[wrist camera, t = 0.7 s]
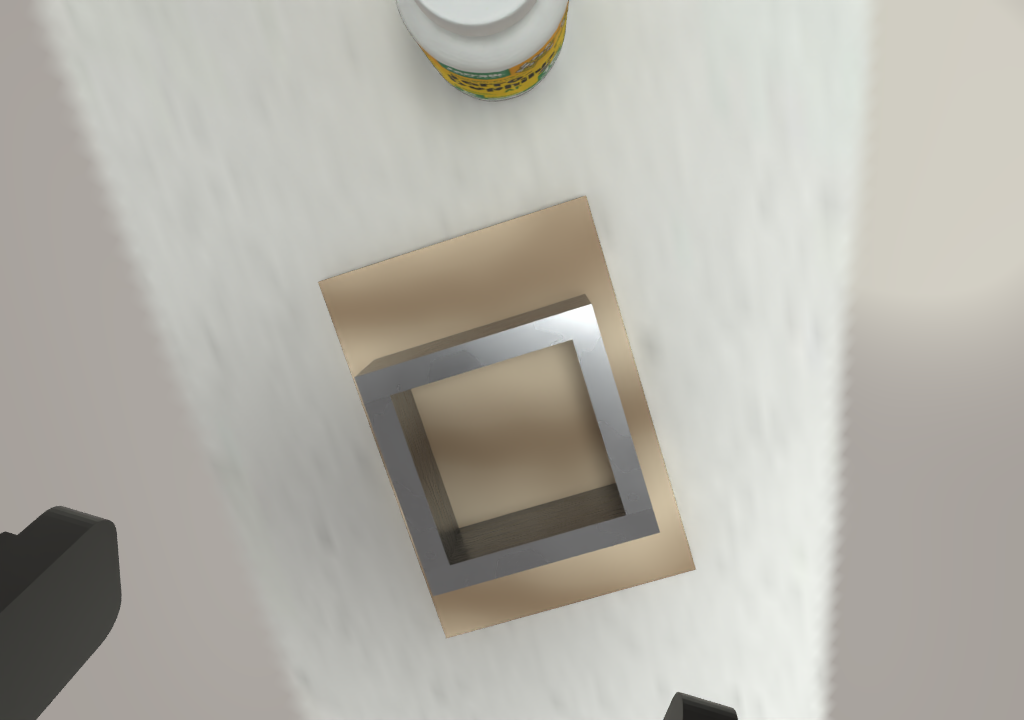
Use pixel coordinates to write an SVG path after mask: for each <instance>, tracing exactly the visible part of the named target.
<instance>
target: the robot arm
mask: <svg viewBox="0 0 1024 720" xmlns="http://www.w3.org/2000/svg"><path fill="white" fill-rule="evenodd" d="M120 605H121V584H120V570H119V557H118V544H117V532H116V527H115V525H114V523H113V522H111V521H110V520H106V519H103V518H100V517H96V516H93V515H90V514H87V513H83V512H79V511H77V510H73V509H70V508H66V507H63V506H56V507H53V508H51V509H49V510H47V511H46V512H44V513H43V514H42V515H40V516H39V517H38V518H37V519H36V520H35V521H33V522H32V523H31V524H30V525H29V526H28V527H26V528H25V529H24V530H23V531H22V532H20V534H18V535H15V534H12V533H8V532H3V533H1V534H0V720H36V719H37V718H38V717H39V716H40V714H41V713H42V712H43V711H44V710H45V709H46V707H47V706H48V705H49V704H50V703H51V702H52V701H53V699H54V698H55V697H56V696H57V695H58V694H59V692H60V691H61V690H62V689H63V688H64V686H65V685H66V684H67V683H68V682H69V681H70V680H71V679H72V677H73V676H74V675H75V674H76V673H77V672H78V670H79V669H80V668H81V667H82V666H83V664H84V663H85V662H86V661H87V660H88V659H89V658H90V656H91V655H92V654H93V653H94V652H95V651H96V649H97V648H98V647H99V646H100V645H101V643H102V642H103V641H104V640H105V638H106V637H107V635H108V634H109V632H110V631H111V629H112V627H113V625H114V623H115V621H116V618H117V615H118V613H119V610H120ZM663 720H738V718H737V714H736V711H735V710H734V709H733V708H731V707H728V706H724V705H721V704H718V703H714V702H711V701H707V700H704V699H701V698H697V697H694V696H691V695H687V694H684V693H681V692H677V693H676V694H675V695H674V697H673V699H672V701H671V703H670V706H669V708H668V710H667V712H666V715H665V717H664V719H663Z"/></svg>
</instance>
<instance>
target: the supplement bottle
mask: <svg viewBox="0 0 1024 720" xmlns="http://www.w3.org/2000/svg"><path fill="white" fill-rule="evenodd" d="M396 4H397V7H398V10H399V13H400V15H401V17H402V20H403V22H404V23H405V25H406V27H407V29H408V31H409V32H410V34H411V35H412V37H413V38H414V39H415V41H416V42H417V43H418V45H419V46H420V48H421V49H422V50H423V52H424V53H425V54H426V56H427V57H428V59H429V60H430V61H431V63H432V64H433V66H434V67H435V68H436V69H437V71H438V72H439V73H440V74H441V75H442V76H443V77H444V78H445V79H446V80H447V81H448V82H449V83H450V84H451V85H452V86H454V87H455V88H457V89H458V90H460V91H462V92H463V93H465V94H467V95H469V96H472V97H475V98H478V99H481V100H488V101H497V100H505V99H510V98H513V97H517V96H519V95H521V94H524V93H525V92H527V91H529V90H531V89H532V88H533V87H535V86H536V85H537V84H538V83H539V82H540V81H541V80H542V79H543V78H544V77H545V76H546V74H547V73H548V72H549V70H550V69H551V67H552V66H553V64H554V63H555V61H556V59H557V57H558V55H559V53H560V50H561V47H562V44H563V41H564V36H565V30H566V20H567V12H568V5H569V0H396Z"/></svg>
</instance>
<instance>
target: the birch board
mask: <svg viewBox="0 0 1024 720" xmlns="http://www.w3.org/2000/svg"><path fill="white" fill-rule="evenodd" d="M318 283H319V286H320V288H321V291H322V294H323V297H324V300H325V302H326V305H327V308H328V311H329V313H330V316H331V319H332V322H333V325H334V327H335V330H336V333H337V336H338V338H339V341H340V344H341V347H342V350H343V352H344V355H345V358H346V361H347V364H348V366H349V369H350V372H351V375H352V377H353V380H354V383H355V386H356V389H357V391H358V394H359V397H360V400H361V402H362V405H363V408H364V411H365V414H366V416H367V419H368V422H369V425H370V427H371V430H372V433H373V436H374V439H375V441H376V444H377V447H378V450H379V453H380V455H381V458H382V461H383V464H384V466H385V469H386V472H387V475H388V478H389V480H390V483H391V486H392V489H393V491H394V494H395V497H396V500H397V503H398V505H399V508H400V511H401V514H402V516H403V519H404V522H405V525H406V528H407V530H408V533H409V536H410V539H411V542H412V544H413V547H414V550H415V553H416V555H417V558H418V561H419V564H420V567H421V569H422V572H423V575H424V578H425V580H426V583H427V586H428V589H429V592H430V594H431V597H432V600H433V603H434V605H435V608H436V611H437V614H438V617H439V619H440V622H441V625H442V628H443V630H444V633H445V636H446V638H449V637H453V636H457V635H460V634H464V633H467V632H471V631H475V630H478V629H482V628H486V627H489V626H493V625H496V624H500V623H504V622H507V621H511V620H514V619H518V618H522V617H525V616H529V615H533V614H536V613H540V612H543V611H547V610H551V609H554V608H558V607H562V606H565V605H569V604H572V603H576V602H580V601H583V600H587V599H590V598H594V597H598V596H601V595H605V594H609V593H612V592H616V591H619V590H623V589H627V588H630V587H634V586H638V585H641V584H645V583H648V582H652V581H656V580H659V579H663V578H666V577H670V576H674V575H677V574H681V573H685V572H688V571H692V570H695V569H696V568H695V565H694V562H693V558H692V555H691V551H690V548H689V545H688V541H687V538H686V534H685V531H684V528H683V524H682V521H681V517H680V514H679V510H678V507H677V504H676V500H675V497H674V493H673V490H672V487H671V483H670V480H669V476H668V473H667V470H666V466H665V463H664V459H663V456H662V453H661V449H660V446H659V442H658V439H657V436H656V432H655V429H654V425H653V422H652V419H651V415H650V412H649V408H648V405H647V402H646V398H645V395H644V391H643V388H642V385H641V381H640V378H639V374H638V371H637V368H636V364H635V361H634V357H633V354H632V351H631V347H630V344H629V340H628V337H627V333H626V330H625V327H624V323H623V320H622V316H621V313H620V310H619V306H618V303H617V299H616V296H615V293H614V289H613V286H612V282H611V279H610V276H609V272H608V269H607V265H606V262H605V259H604V255H603V252H602V248H601V245H600V242H599V238H598V235H597V231H596V228H595V225H594V221H593V218H592V214H591V211H590V208H589V204H588V201H587V197H586V196H583V197H580V198H577V199H574V200H571V201H568V202H565V203H562V204H558V205H555V206H552V207H549V208H546V209H543V210H540V211H537V212H534V213H530V214H527V215H524V216H521V217H518V218H515V219H512V220H509V221H506V222H503V223H499V224H496V225H493V226H490V227H487V228H484V229H481V230H478V231H475V232H471V233H468V234H465V235H462V236H459V237H456V238H453V239H450V240H447V241H444V242H440V243H437V244H434V245H431V246H428V247H425V248H422V249H419V250H416V251H413V252H409V253H406V254H403V255H400V256H397V257H394V258H391V259H388V260H385V261H381V262H378V263H375V264H372V265H369V266H366V267H363V268H360V269H357V270H354V271H350V272H347V273H344V274H341V275H338V276H335V277H332V278H329V279H326V280H323V281H319V282H318ZM583 294H586V296H587V297H588V299H589V301H590V302H591V304H592V307H593V310H594V314H595V317H596V320H597V324H598V327H599V330H600V334H601V337H602V340H603V344H604V347H605V350H606V354H607V357H608V360H609V364H610V367H611V370H612V374H613V377H614V380H615V384H616V387H617V390H618V394H619V397H620V400H621V404H622V407H623V410H624V414H625V417H626V420H627V424H628V427H629V430H630V434H631V437H632V440H633V444H634V447H635V450H636V454H637V457H638V460H639V464H640V467H641V470H642V474H643V477H644V480H645V484H646V487H647V490H648V494H649V497H650V500H651V504H652V507H653V510H654V514H655V517H656V520H657V524H658V527H659V530H660V533H657V534H653V535H650V536H646V537H642V538H639V539H635V540H632V541H628V542H625V543H621V544H618V545H614V546H611V547H607V548H603V549H600V550H596V551H593V552H589V553H586V554H582V555H579V556H575V557H571V558H568V559H564V560H561V561H557V562H554V563H550V564H547V565H543V566H539V567H536V568H532V569H529V570H525V571H522V572H518V573H515V574H511V575H508V576H504V577H500V578H497V579H493V580H490V581H486V582H483V583H479V584H476V585H472V586H468V587H465V588H461V589H458V590H454V591H451V592H447V593H444V594H440V595H436V596H433V595H432V592H431V589H430V587H429V584H428V581H427V578H426V575H425V573H424V570H423V567H422V564H421V561H420V559H419V556H418V553H417V550H416V548H415V545H414V542H413V539H412V536H411V534H410V531H409V528H408V525H407V523H406V520H405V517H404V514H403V511H402V509H401V506H400V503H399V500H398V497H397V495H396V492H395V489H394V486H393V484H392V481H391V478H390V475H389V472H388V470H387V467H386V464H385V461H384V458H383V456H382V453H381V450H380V447H379V445H378V442H377V439H376V436H375V433H374V431H373V428H372V425H371V422H370V419H369V417H368V414H367V411H366V408H365V406H364V403H363V400H362V397H361V394H360V392H359V389H358V386H357V383H356V381H355V378H354V377H355V376H356V375H358V374H359V373H360V372H361V371H362V370H363V369H364V368H365V367H367V366H368V365H369V364H370V363H371V362H372V361H373V360H374V359H378V358H381V357H384V356H387V355H390V354H394V353H397V352H400V351H403V350H406V349H410V348H413V347H416V346H419V345H423V344H426V343H429V342H432V341H435V340H439V339H442V338H445V337H448V336H451V335H455V334H458V333H461V332H464V331H468V330H471V329H474V328H477V327H480V326H484V325H487V324H490V323H493V322H496V321H500V320H503V319H506V318H509V317H513V316H516V315H519V314H522V313H525V312H529V311H532V310H535V309H538V308H541V307H545V306H548V305H551V304H554V303H558V302H561V301H564V300H567V299H570V298H574V297H577V296H580V295H583ZM411 391H412V394H413V397H414V400H415V403H416V405H417V408H418V411H419V414H420V417H421V420H422V423H423V426H424V429H425V431H426V434H427V437H428V440H429V443H430V446H431V449H432V452H433V454H434V457H435V460H436V463H437V466H438V469H439V472H440V475H441V478H442V480H443V483H444V486H445V489H446V492H447V495H448V498H449V501H450V503H451V506H452V509H453V512H454V515H455V518H456V521H457V524H458V526H459V528H461V527H465V526H468V525H472V524H475V523H479V522H482V521H486V520H489V519H492V518H496V517H499V516H503V515H506V514H510V513H513V512H517V511H520V510H524V509H527V508H531V507H534V506H538V505H541V504H544V503H548V502H551V501H555V500H558V499H562V498H565V497H569V496H572V495H576V494H579V493H583V492H586V491H590V490H593V489H596V488H600V487H603V486H607V485H610V484H614V483H616V481H615V477H614V474H613V471H612V467H611V464H610V461H609V458H608V454H607V451H606V448H605V445H604V441H603V438H602V435H601V432H600V428H599V425H598V422H597V419H596V415H595V412H594V409H593V406H592V402H591V399H590V396H589V392H588V389H587V386H586V383H585V379H584V376H583V373H582V370H581V366H580V363H579V360H578V357H577V353H576V350H575V347H574V344H573V340H569V341H566V342H563V343H559V344H556V345H553V346H550V347H546V348H543V349H540V350H536V351H533V352H530V353H527V354H523V355H520V356H517V357H514V358H510V359H507V360H504V361H501V362H497V363H494V364H491V365H488V366H484V367H481V368H478V369H474V370H471V371H468V372H465V373H461V374H458V375H455V376H452V377H448V378H445V379H442V380H439V381H435V382H432V383H429V384H425V385H422V386H419V387H416V388H412V389H411Z"/></svg>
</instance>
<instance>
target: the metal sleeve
mask: <svg viewBox="0 0 1024 720" xmlns="http://www.w3.org/2000/svg"><path fill="white" fill-rule="evenodd" d="M569 340H573V344H574V347H575V350H576V353H577V357H578V360H579V363H580V366H581V370H582V373H583V376H584V379H585V383H586V386H587V389H588V392H589V396H590V399H591V402H592V406H593V409H594V412H595V415H596V419H597V422H598V425H599V428H600V432H601V435H602V438H603V441H604V445H605V448H606V451H607V454H608V458H609V461H610V464H611V467H612V471H613V474H614V477H615V481H616V483H614V484H610V485H607V486H603V487H600V488H596V489H593V490H590V491H586V492H583V493H579V494H576V495H572V496H569V497H565V498H562V499H558V500H555V501H551V502H548V503H544V504H541V505H538V506H534V507H531V508H527V509H524V510H520V511H517V512H513V513H510V514H506V515H503V516H499V517H496V518H492V519H489V520H486V521H482V522H479V523H475V524H472V525H468V526H465V527H461V528H459V526H458V524H457V521H456V518H455V515H454V512H453V509H452V506H451V503H450V501H449V498H448V495H447V492H446V489H445V486H444V483H443V480H442V478H441V475H440V472H439V469H438V466H437V463H436V460H435V457H434V454H433V452H432V449H431V446H430V443H429V440H428V437H427V434H426V431H425V429H424V426H423V423H422V420H421V417H420V414H419V411H418V408H417V405H416V403H415V400H414V397H413V394H412V391H411V389H412V388H416V387H419V386H422V385H425V384H429V383H432V382H435V381H439V380H442V379H445V378H448V377H452V376H455V375H458V374H461V373H465V372H468V371H471V370H474V369H478V368H481V367H484V366H488V365H491V364H494V363H497V362H501V361H504V360H507V359H510V358H514V357H517V356H520V355H523V354H527V353H530V352H533V351H536V350H540V349H543V348H546V347H550V346H553V345H556V344H559V343H563V342H566V341H569ZM354 378H355V381H356V383H357V386H358V389H359V392H360V394H361V397H362V400H363V403H364V406H365V408H366V411H367V414H368V417H369V419H370V422H371V425H372V428H373V431H374V433H375V436H376V439H377V442H378V445H379V447H380V450H381V453H382V456H383V458H384V461H385V464H386V467H387V470H388V472H389V475H390V478H391V481H392V484H393V486H394V489H395V492H396V495H397V497H398V500H399V503H400V506H401V509H402V511H403V514H404V517H405V520H406V523H407V525H408V528H409V531H410V534H411V536H412V539H413V542H414V545H415V548H416V550H417V553H418V556H419V559H420V561H421V564H422V567H423V570H424V573H425V575H426V578H427V581H428V584H429V587H430V589H431V592H432V595H433V596H436V595H440V594H444V593H447V592H451V591H454V590H458V589H461V588H465V587H468V586H472V585H476V584H479V583H483V582H486V581H490V580H493V579H497V578H500V577H504V576H508V575H511V574H515V573H518V572H522V571H525V570H529V569H532V568H536V567H539V566H543V565H547V564H550V563H554V562H557V561H561V560H564V559H568V558H571V557H575V556H579V555H582V554H586V553H589V552H593V551H596V550H600V549H603V548H607V547H611V546H614V545H618V544H621V543H625V542H628V541H632V540H635V539H639V538H642V537H646V536H650V535H653V534H657V533H660V530H659V527H658V524H657V520H656V517H655V514H654V510H653V507H652V504H651V500H650V497H649V494H648V490H647V487H646V484H645V480H644V477H643V474H642V470H641V467H640V464H639V460H638V457H637V454H636V450H635V447H634V444H633V440H632V437H631V434H630V430H629V427H628V424H627V420H626V417H625V414H624V410H623V407H622V404H621V400H620V397H619V394H618V390H617V387H616V384H615V380H614V377H613V374H612V370H611V367H610V364H609V360H608V357H607V354H606V350H605V347H604V344H603V340H602V337H601V334H600V330H599V327H598V324H597V320H596V317H595V314H594V310H593V307H592V304H591V302H590V301H589V299H588V297H587V296H586V294H583V295H580V296H577V297H574V298H570V299H567V300H564V301H561V302H558V303H554V304H551V305H548V306H545V307H541V308H538V309H535V310H532V311H529V312H525V313H522V314H519V315H516V316H513V317H509V318H506V319H503V320H500V321H496V322H493V323H490V324H487V325H484V326H480V327H477V328H474V329H471V330H468V331H464V332H461V333H458V334H455V335H451V336H448V337H445V338H442V339H439V340H435V341H432V342H429V343H426V344H423V345H419V346H416V347H413V348H410V349H406V350H403V351H400V352H397V353H394V354H390V355H387V356H384V357H381V358H378V359H374V360H373V361H372V362H371V363H370V364H369V365H368V366H367V367H365V368H364V369H363V370H362V371H361V372H360V373H359V374H358V375H356V376H355V377H354Z"/></svg>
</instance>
